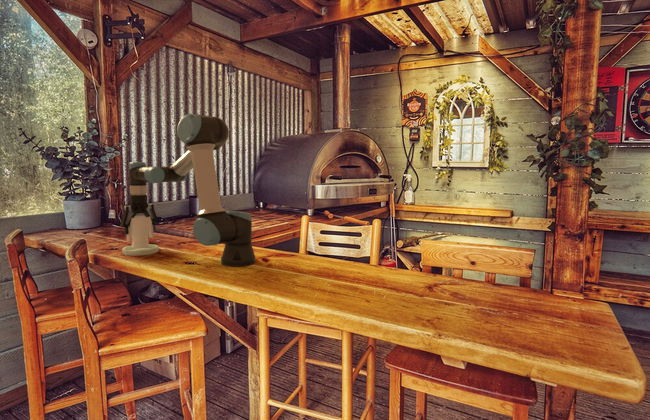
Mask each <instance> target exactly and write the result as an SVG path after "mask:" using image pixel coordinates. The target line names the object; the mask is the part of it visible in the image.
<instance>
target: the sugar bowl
mask: <svg viewBox="0 0 650 420" xmlns="http://www.w3.org/2000/svg"><path fill="white" fill-rule="evenodd" d="M154 239H155V238H150V237H149V234H148V242H149V244H151V243H150V242H153V241H154ZM125 242H126V243H127V244H128V245H129V246H131V245H132V242H133V239H132V234H131V241H127V237H126V239H125Z"/></svg>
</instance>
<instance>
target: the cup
mask: <svg viewBox="0 0 650 420" xmlns="http://www.w3.org/2000/svg"><path fill="white" fill-rule="evenodd" d="M150 216H151V215H150ZM150 216H149V217H146V216H145V215H135V217H134V218H131V224H130V226H129V228H131V234H132V239H133V242H132V248H135V249H141V248H147V247H149V244H150V243H149V242H148V234H149V232H150V230H151V227H152V221H151V218H152V216H151V217H150Z"/></svg>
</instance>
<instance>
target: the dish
mask: <svg viewBox="0 0 650 420" xmlns="http://www.w3.org/2000/svg"><path fill="white" fill-rule="evenodd" d="M121 249H122V250H121V251H122V252H121V253H122V255H125V256H130V257H133V256H134V257H135V256H136V257H137V256H138V257H140V256H147V255H149V256H150V255H153V254H156V253H158V252H159V251H160V247H159V245H158V244H155V243H154V244H152V243H149V247H147V248H141V249H135V248H132V245H127V246H124V247H122V248H121Z"/></svg>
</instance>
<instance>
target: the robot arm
mask: <svg viewBox="0 0 650 420" xmlns="http://www.w3.org/2000/svg"><path fill="white" fill-rule="evenodd" d="M179 120H180V121H179V122H178V124H177V132H176V133H177V137H178V139H179V140H180V141H181V142H182V143H185V149H186V152H185V153H184V154H183V155H182V156H180V157H179V158H178V159H177V160H176V161H175V162H174V163H173V164H172V165H170V166H147V163H146V162H144V161H143V162H141V161H131V162H129V163H128V179H129V180H128V181H129V182H128V183H129V194H130V195H129V201H130V204H129V205H124V206H123V214H122V216H121V220H120V224H119V227H121V228H124V234H125V236H126V238H127V241H131V228H129V226H130V224H131V218H134V217H135V216H137V214H138V215H139V214H143V216H146V217H149V216H150V217H151V221H152V227H151V230H150V232H149V237H150V238H154V237H155V236H154V232H155V230H156V227H155V226H156V225H157V224H159V220H158V216H157V213H156V211H155V205H154V204H153V203H149V204H148V183H150V184H160V183H180V182H184V181H186V180H187V177H188V173H189V172H190V171H191V170H193V174H194V181H195V187H196V192H197V198H198V205H199V211H198V213H197V214H196V217H197V218H196V219H195V220H194V222H193V225H192V230H193V231H192V233H193V236H194V237H195V239H196V240H197V241H198V242H199V244H201V245H203V246H206V247H209V246H210V247H211V246H217V245H219V244H220V245H221V244H224V248H223V251H222V256H221V258H220V263H221V265H223V266H227V267H244V266H245V265H247V266H250V264H251V265H253V263H254V264H255V263H256V261H257V260H256V259H257V258H256V255H255V252H254V249H253V246H252V244H253V243H252V241H253V239H252V238H253V237H252V234H253V232H252V231H253V230H252V228H253V227H252V223H253V221H252V214H251V213H250V212H247V211H246V212H245V211H237V210H235V211H234V210H226V209H225V208H224V207H222V202H221V201H222V200H221V196H220V190H219V183H218V176H217V171H216V165H215V164H216V163H215V159H214V158H215V157H214V151H218V150H220V149H221V148H222V147H223V146H224V145H225V144H226V142H227V141H228V139H229V135H230V131H229V127H228V124H227V122H226V121H224V120H223V119H222V118H220V117H218V116H210V115H203V114H198V113H187V114H184V115H183V116H182V117H181V118H180V119H179ZM147 209H149V211H148V210H147ZM130 210H131V211H130ZM154 239H155V238H154ZM127 241H126V242H127ZM245 267H246V266H245Z"/></svg>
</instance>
